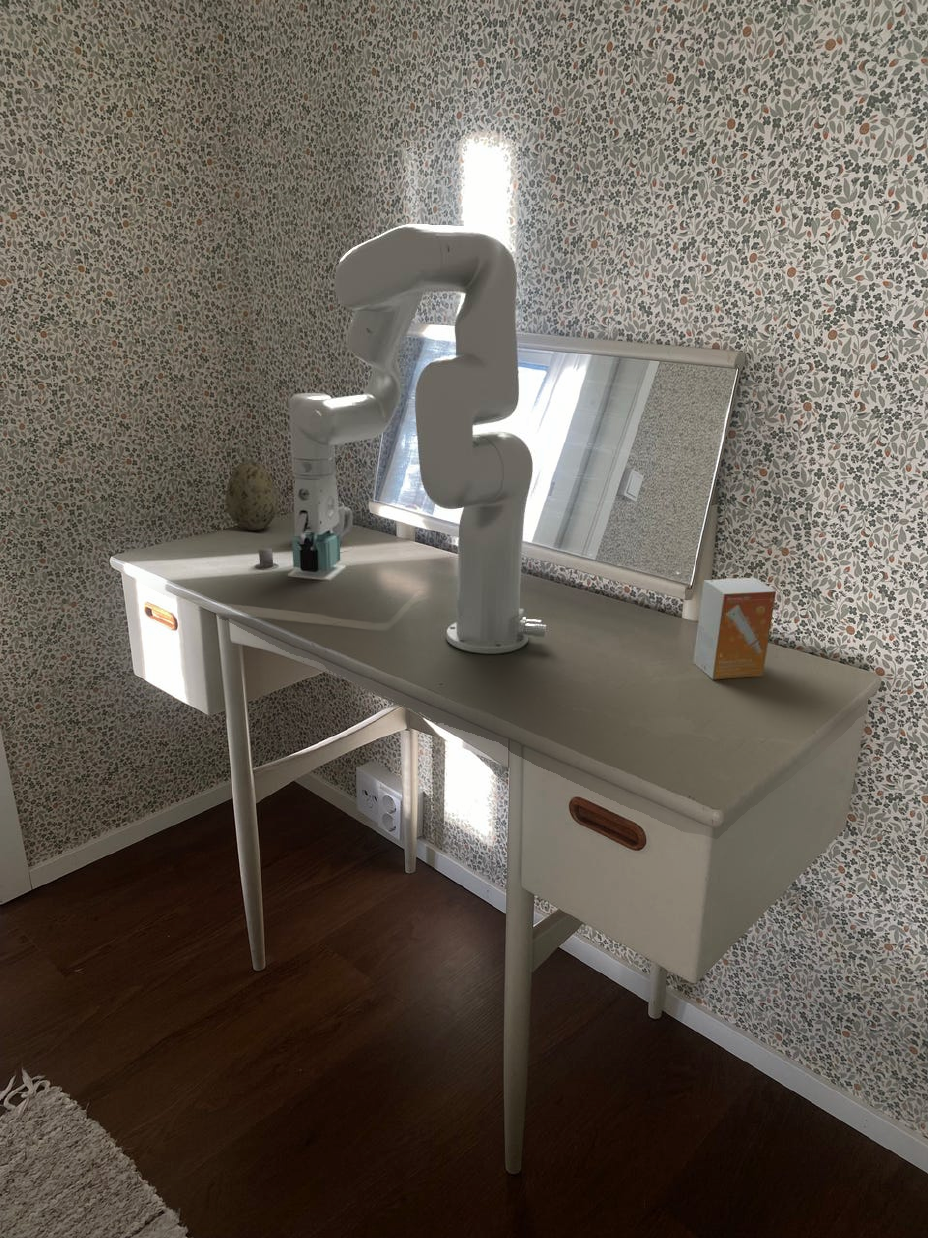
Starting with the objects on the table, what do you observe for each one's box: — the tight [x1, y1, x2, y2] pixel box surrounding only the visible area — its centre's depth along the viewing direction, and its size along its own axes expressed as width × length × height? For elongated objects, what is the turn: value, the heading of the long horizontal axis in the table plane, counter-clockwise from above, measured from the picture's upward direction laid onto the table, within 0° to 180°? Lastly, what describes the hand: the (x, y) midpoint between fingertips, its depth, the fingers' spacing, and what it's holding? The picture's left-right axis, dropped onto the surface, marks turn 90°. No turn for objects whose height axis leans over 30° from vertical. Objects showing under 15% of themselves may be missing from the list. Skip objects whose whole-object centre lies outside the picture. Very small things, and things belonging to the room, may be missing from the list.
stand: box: [254, 547, 280, 571], centre depth 169 cm, size 20×12×5 cm, turn 76°
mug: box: [305, 500, 354, 542], centre depth 184 cm, size 12×9×10 cm
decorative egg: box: [225, 459, 279, 532], centre depth 196 cm, size 11×11×15 cm
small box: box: [693, 577, 777, 681], centre depth 132 cm, size 8×6×13 cm
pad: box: [287, 564, 347, 582], centre depth 168 cm, size 8×8×1 cm
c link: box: [291, 531, 341, 570], centre depth 167 cm, size 6×6×5 cm
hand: (317, 564), depth 168 cm, fingers closed on c link, 6 cm apart
